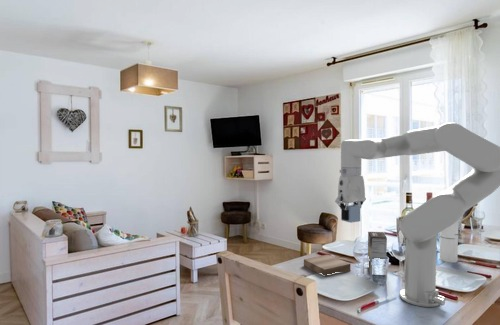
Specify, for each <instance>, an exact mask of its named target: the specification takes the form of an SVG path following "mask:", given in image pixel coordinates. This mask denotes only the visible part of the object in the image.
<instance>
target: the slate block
mask: <svg viewBox="0 0 500 325" xmlns="http://www.w3.org/2000/svg"><path fill="white" fill-rule="evenodd" d="M340 210H341V211H340V212H341V214H340V220H341V221H342V222H343V221H344V222H346V223H357V222H361V209H360V206H359V205H354V204H353V203H349V205H348V209H347V210H349V220H348V221H346V220H342V209H340Z"/></svg>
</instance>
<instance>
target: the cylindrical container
mask: <svg viewBox="0 0 500 325" xmlns="http://www.w3.org/2000/svg"><path fill="white" fill-rule="evenodd" d="M458 243H459V220H458V221H457V222H456V223H454V224H453V225H451V226H449V227H448V228H446V229H444V230H443V231H441V232H440V233H439V260H441V261H442V262H446V263H458V253H459V250H458V249H459V244H458Z"/></svg>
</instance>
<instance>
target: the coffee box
mask: <svg viewBox="0 0 500 325" xmlns="http://www.w3.org/2000/svg"><path fill="white" fill-rule="evenodd" d="M367 233H368V234H367V257H368V256H369V259H370V261H369V269H368V271H369V275H370V276H373V275H372V265H371V262H372V259H374V258H380V259H386V260H387V245H388V244H387V243H388V239H387V235H385V232H383V231H367Z"/></svg>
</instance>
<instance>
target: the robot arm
mask: <svg viewBox="0 0 500 325" xmlns="http://www.w3.org/2000/svg"><path fill="white" fill-rule="evenodd" d="M438 152H447V153H448V154H450V155H451V156H453V157H455V158H456V159H458V160H460V161H461V162H463V163H465V164H467V165H468V166H470V167H471V168H472V170H471V171H470V172H468V174H466V175H465V176H463V177H462V178H461V179H459V180H458V181H456V182H455V183H454V184H452V185H450V186H449V187H448V188H446V189H444V190H442V191H439V192H437V193H436V194H435V195H434V196H432V197H431V198H429V199H428V200H427V201H425V202H423V203H422V204H421V205H418V206H417V207H416V208H414V209H411V210H410V211H409V212H407V214H405V215H404V216H403V217H402V219H401V221H400V231H401V233H402V235H403V237H404V238H405V249H404V250H405V253H404V255H405V256H404V288H403V289H400V291H399V297H400V298H401V300H403V301H404V302H406V303H408V304H411V305H413V306H417V307H424V308H434V307H437V306H439V305H440V306H445V304H446V297H445V296H443V295H440V294H439V291H440V290H439V289H438V288H436V283H437V282H436V278H437V277H436V276H437V275H436V273H437V244H438V234H440V232H441V231H443V230H444V229H446V228H448V227H449V226H451V225H453V224H454V223H456V222H457V221H458V222H459V220H461V219H462V217H463V216H464V215H465V213H466V212H467V211H468V210H470V209H471V208H472V207H474V206H475V205H477V204H479V203H480V202H481V201H483V200H484V199H486V198H487V197H489V196H490V195H492V194H493V193H494V192H495V191H497V189H499V188H500V146H499V145H498V144H496V143H493V142H491V141H490V140H488V139H485V138H483V137H482V136H480V135H479V134H476V133H474V132H473V131H471V130H470V129H468V128H466V127H464V126H463V125H461V124H460V123H457V122H451V121H450V122H445V123H443V124H441V125H436V126H430V127H423V128H418V129H417V128H416V129H411V130H408V131H406V132H404V133H401V134H399V135H394V136H389V137H382V138H365V139H345V140H342V141H341V143H340V169H339V173H340V176H339V178H338V184H337V185H338V186H337V187H338V188H337V197H336V199H335V200H334V203H335V204H336V205H338V207H339V209H340V210H341V209H342V220H346V221H348V220H349V210H347V209H348V205H349V204H354V205H359V206H360V210H361V209H362V206H363V204H364V202H365V201H366V199H367V198H366V187H365V180H364V176H363V175H362V159H364V160H377V159H383V158H384V159H385V158H392V157H397V156H398V157H399V156H416V155H423V154H424V155H425V154H430V153H431V154H433V153H438ZM342 220H341V221H342ZM346 221H345V222H346Z"/></svg>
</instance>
